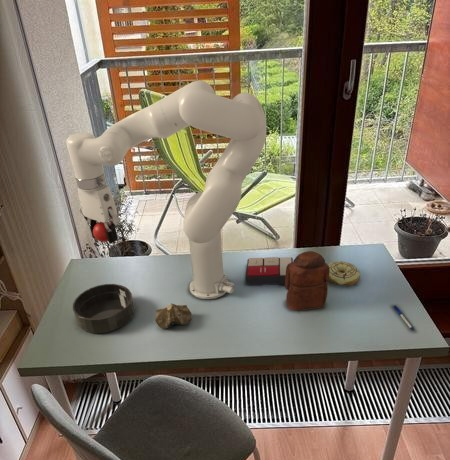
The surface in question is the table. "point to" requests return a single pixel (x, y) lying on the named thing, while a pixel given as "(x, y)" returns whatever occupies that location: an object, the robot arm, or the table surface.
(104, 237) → the red ball
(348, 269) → the decorated donut
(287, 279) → the wooden figurine
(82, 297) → the bowl
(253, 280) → the miniature drawer cabinet
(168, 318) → the fossilized seashell
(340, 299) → the table surface
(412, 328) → the ballpoint pen
